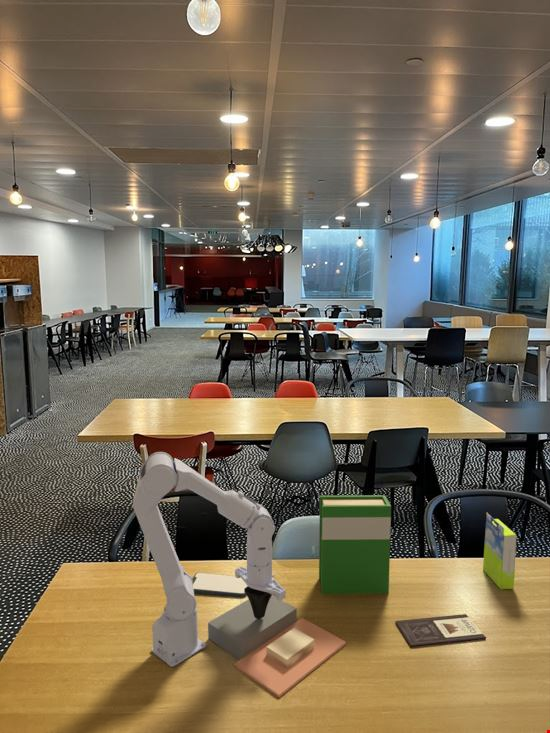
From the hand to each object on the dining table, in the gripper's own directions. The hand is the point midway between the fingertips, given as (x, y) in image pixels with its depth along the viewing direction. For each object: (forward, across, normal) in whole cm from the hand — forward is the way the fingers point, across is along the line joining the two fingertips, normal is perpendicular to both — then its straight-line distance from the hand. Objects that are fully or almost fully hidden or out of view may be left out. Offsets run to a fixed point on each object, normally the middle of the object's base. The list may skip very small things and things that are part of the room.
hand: (259, 616), depth 123 cm
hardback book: (+5, -3, -32) cm, 33 cm away
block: (+5, +2, 0) cm, 5 cm away
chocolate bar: (+5, -29, -30) cm, 42 cm away
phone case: (+5, +22, -7) cm, 24 cm away
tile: (+3, -10, 0) cm, 10 cm away
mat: (+5, -10, 0) cm, 11 cm away
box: (+5, -30, -62) cm, 69 cm away
